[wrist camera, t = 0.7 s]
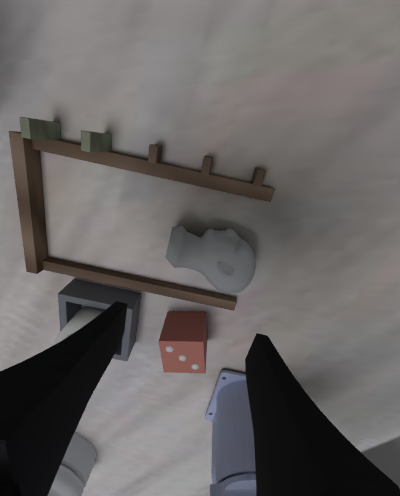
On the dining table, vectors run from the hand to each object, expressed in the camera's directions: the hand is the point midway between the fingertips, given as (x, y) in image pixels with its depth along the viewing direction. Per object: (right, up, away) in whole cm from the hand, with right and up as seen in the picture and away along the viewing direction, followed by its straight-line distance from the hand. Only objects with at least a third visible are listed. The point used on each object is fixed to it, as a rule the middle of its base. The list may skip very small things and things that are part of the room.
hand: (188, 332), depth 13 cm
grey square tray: (-10, -2, +12) cm, 16 cm away
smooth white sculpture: (+2, +5, +9) cm, 10 cm away
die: (-1, -4, +12) cm, 13 cm away
